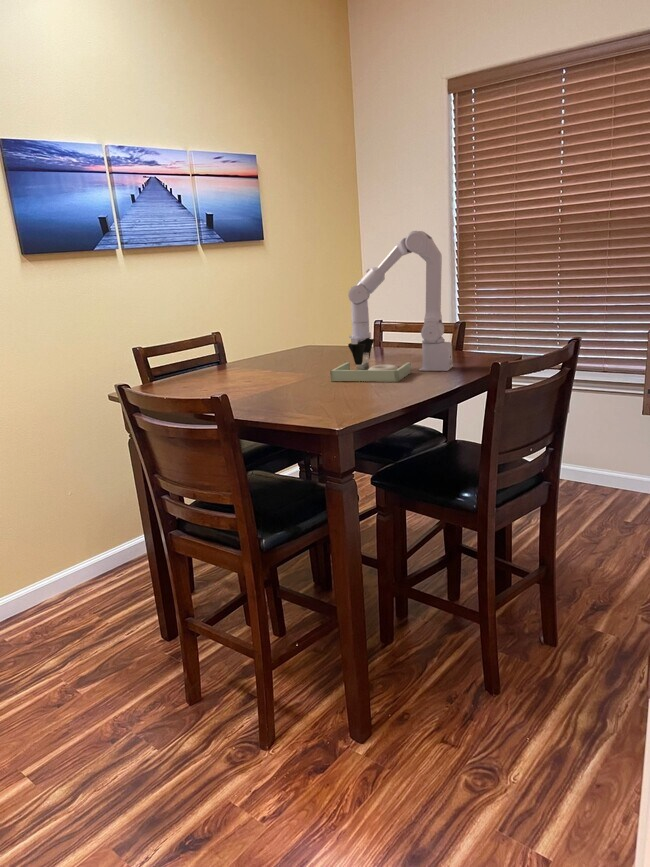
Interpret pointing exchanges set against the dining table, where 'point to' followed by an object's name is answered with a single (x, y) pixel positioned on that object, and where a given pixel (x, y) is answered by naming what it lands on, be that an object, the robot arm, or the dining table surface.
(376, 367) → the donut
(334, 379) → the tray
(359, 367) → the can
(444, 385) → the dining table surface
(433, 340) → the robot arm
